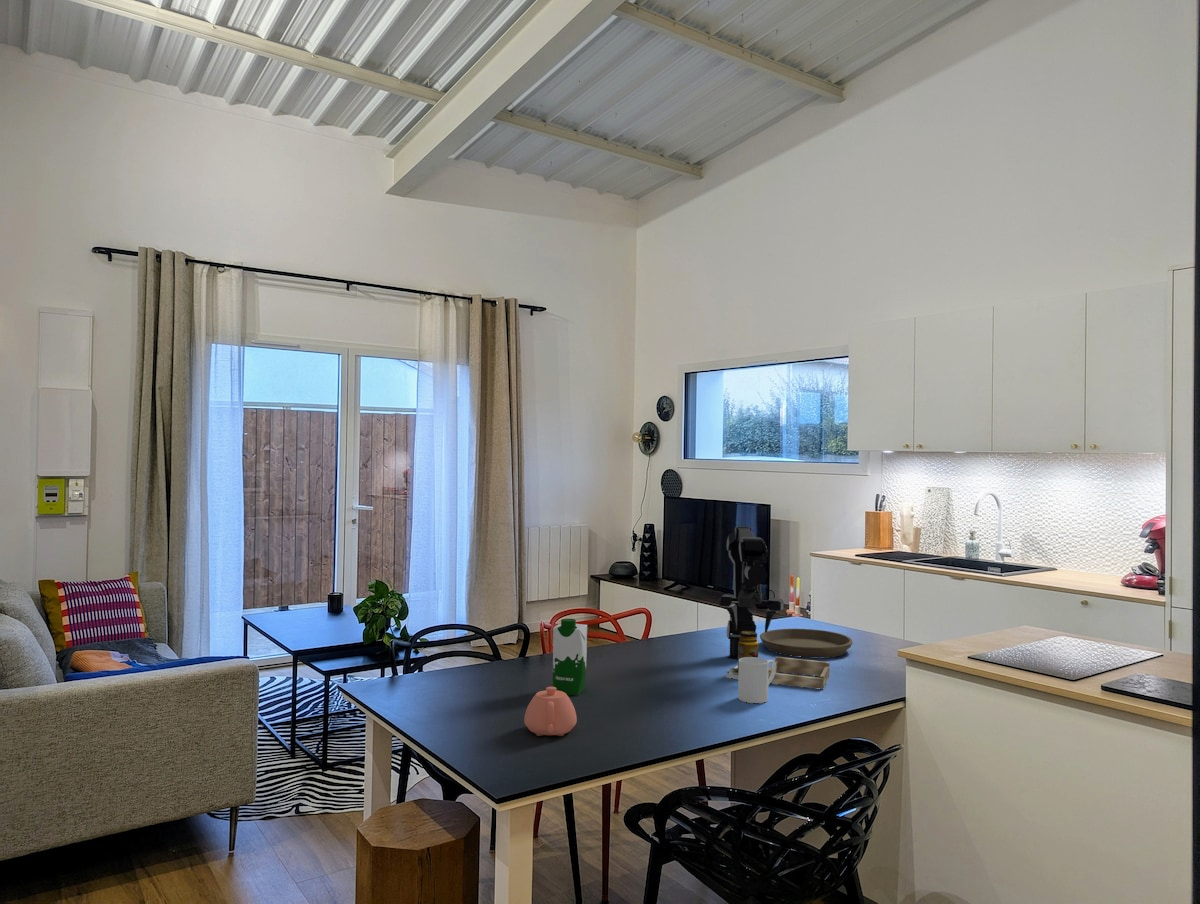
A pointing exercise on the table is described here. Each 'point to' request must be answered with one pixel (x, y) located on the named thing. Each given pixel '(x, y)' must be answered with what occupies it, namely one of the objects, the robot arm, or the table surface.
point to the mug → (754, 679)
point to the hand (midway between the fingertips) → (750, 630)
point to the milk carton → (569, 656)
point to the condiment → (746, 647)
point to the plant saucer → (806, 642)
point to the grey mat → (732, 675)
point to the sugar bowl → (550, 713)
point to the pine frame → (800, 672)
